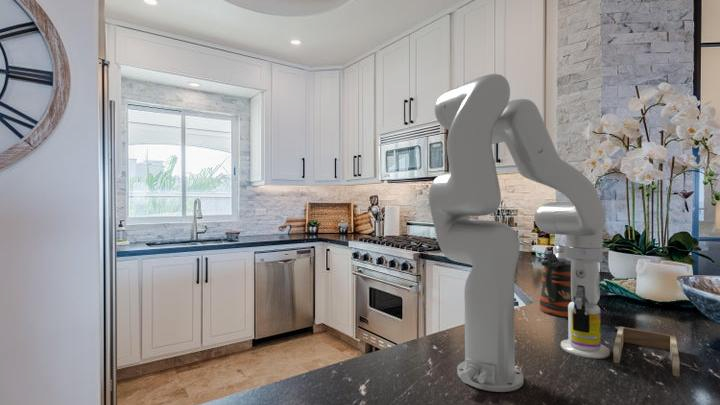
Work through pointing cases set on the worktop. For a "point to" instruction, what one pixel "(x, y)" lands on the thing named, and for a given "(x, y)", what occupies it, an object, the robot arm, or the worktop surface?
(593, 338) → the supplement bottle
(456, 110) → the robot arm
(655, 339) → the frame
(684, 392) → the worktop surface
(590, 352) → the disc
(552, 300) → the beer stein
